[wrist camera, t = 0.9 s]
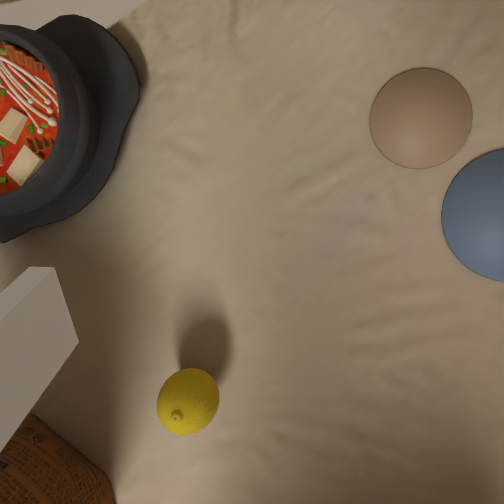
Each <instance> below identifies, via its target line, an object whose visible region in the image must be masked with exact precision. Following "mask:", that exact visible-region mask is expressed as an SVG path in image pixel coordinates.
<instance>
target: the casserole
mask: <svg viewBox="0 0 504 504" xmlns="http://www.w3.org/2000/svg"><path fill="white" fill-rule="evenodd" d="M139 98H140V82H139V78H138V74H137V70H136V68H135V66H134V64H133V62H132V60H131V58H130V56H129V54H128V52H127V51H126V50H125V48H124V47H123V46H122V44H121V43H120V42H119V41H118V39H117V38H116V37H115V36H113V35H112V34H111V33H110V32H109V31H108V30H106V29H105V28H104V27H103V26H101V25H99V24H98V23H96V22H94V21H92V20H90V19H89V18H85V17H82V16H78V15H74V14H73V15H63V16H59V17H57V18H56V19H54V20H52V21H51V22H49V23H47V24H46V25H44V26H42V27H41V28H39V29H37V30H35V31H34V30H31V29H28V28H24V27H21V26H16V25H3V24H0V243H5V242H8V241H10V240H12V239H14V238H16V237H18V236H20V235H22V234H24V233H26V232H27V231H29V230H31V229H33V228H36V227H40V226H43V225H47V224H50V223H54V222H57V221H61V220H64V219H66V218H68V217H70V216H72V215H74V214H76V213H77V212H79V211H81V210H82V209H83V208H84V207H85V206H87V205H88V204H89V203H90V202H91V201H93V200H94V198H95V197H96V196H97V195H98V193H99V192H100V191H101V190H102V188H103V187H104V186H105V184H106V182H107V180H108V178H109V176H110V174H111V172H112V170H113V168H114V165H115V161H116V158H117V154H118V151H119V147H120V144H121V140H122V137H123V133H124V131H125V129H126V127H127V125H128V123H129V121H130V119H131V116H132V114H133V112H134V110H135V108H136V106H137V104H138V102H139Z"/></svg>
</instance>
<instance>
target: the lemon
mask: <svg viewBox="0 0 504 504" xmlns="http://www.w3.org/2000/svg"><path fill="white" fill-rule="evenodd" d="M218 405H219V390H218V386H217V384H216V382H215V380H214V379H213V378H212V377H211V375H210V374H208V373H207V372H205V371H204V370H201V369H198V368H187V369H182V370H180V371H178V372H176V373H174V374H173V375H172V376H171V377H169V378H168V379H167V380H166V382H165V383H164V385H163V386H162V388H161V390H160V393H159V396H158V399H157V413H158V417H159V419H160V421H161V423H162V424H163V426H164V427H165V428H166V429H168V430H169V431H171V432H173V433H175V434H178V435H190V434H193V433H196V432H198V431H200V430H201V429H203V428H204V427H206V426H207V425H208V423H209V422H210V421H211V420H212V419H213V417H214V415H215V413H216V411H217V409H218Z"/></svg>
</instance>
